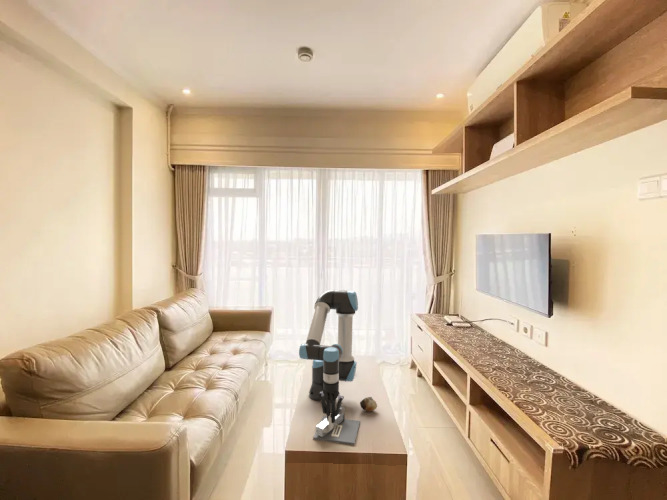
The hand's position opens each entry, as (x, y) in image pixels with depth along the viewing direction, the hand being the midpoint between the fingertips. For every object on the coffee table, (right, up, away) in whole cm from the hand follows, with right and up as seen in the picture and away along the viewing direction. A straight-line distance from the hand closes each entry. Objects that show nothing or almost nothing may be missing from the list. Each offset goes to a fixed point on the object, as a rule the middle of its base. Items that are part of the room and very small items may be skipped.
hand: (330, 428), depth 166 cm
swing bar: (0, -2, +6) cm, 6 cm away
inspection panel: (+3, -4, +5) cm, 7 cm away
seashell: (+21, -3, +25) cm, 33 cm away
